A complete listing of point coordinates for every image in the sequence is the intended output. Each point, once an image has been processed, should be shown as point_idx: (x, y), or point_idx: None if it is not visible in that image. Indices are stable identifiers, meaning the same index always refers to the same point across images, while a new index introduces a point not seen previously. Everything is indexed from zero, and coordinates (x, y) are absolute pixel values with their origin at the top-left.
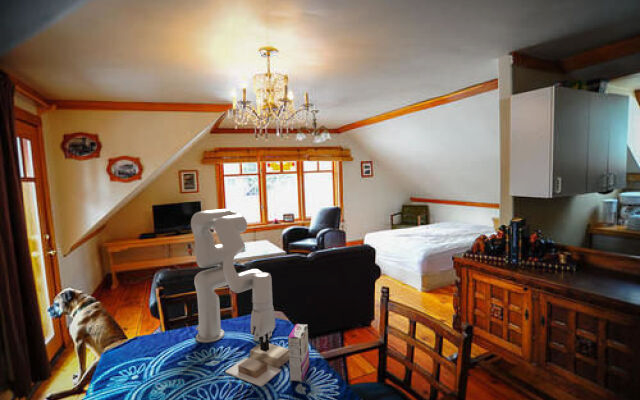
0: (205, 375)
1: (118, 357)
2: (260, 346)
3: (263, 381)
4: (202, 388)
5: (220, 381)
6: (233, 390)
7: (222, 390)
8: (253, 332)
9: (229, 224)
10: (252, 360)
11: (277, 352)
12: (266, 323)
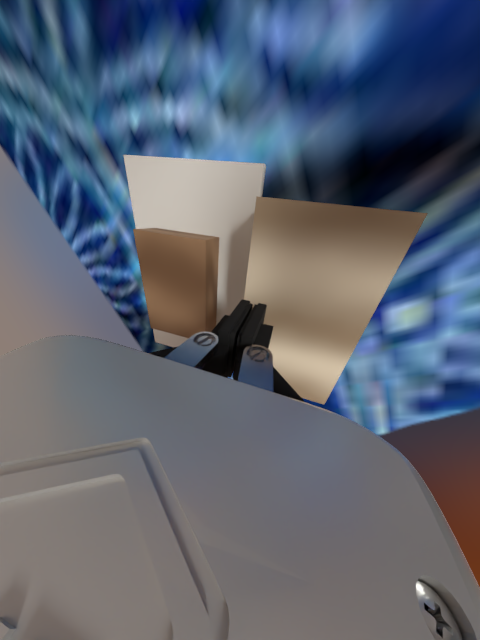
0: (56, 53)
1: None
2: (236, 308)
3: (168, 341)
4: (32, 153)
5: (92, 192)
6: (104, 275)
7: (81, 241)
8: (88, 346)
9: None
10: (196, 272)
11: (281, 365)
12: None
